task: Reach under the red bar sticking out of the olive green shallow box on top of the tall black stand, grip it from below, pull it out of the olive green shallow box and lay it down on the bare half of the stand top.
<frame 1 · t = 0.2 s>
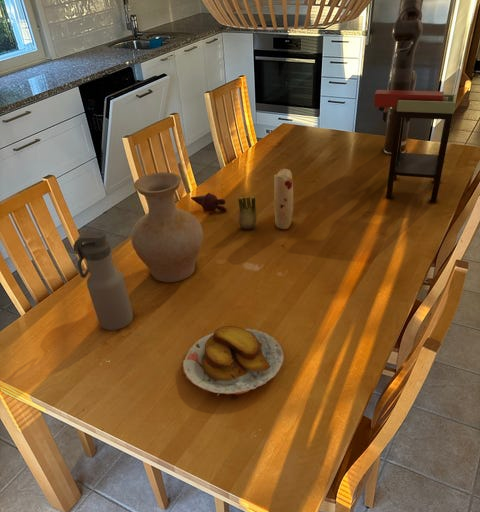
hand: (395, 121, 206), 17 cm above the table, tool pointing down, fingers open, 8 cm apart
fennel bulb: (247, 228, 182), on the table
red bar: (407, 106, 174), point 32 cm above the table, touching olive green shallow box
food on plate: (234, 365, 129), on the table
olive green shallow box: (425, 108, 173), resting on stand
water bottle: (116, 320, 146), on the table
icecream: (209, 210, 195), on the table
vase: (173, 270, 164), on the table
food model: (284, 225, 182), on the table
stand: (412, 189, 197), on the table
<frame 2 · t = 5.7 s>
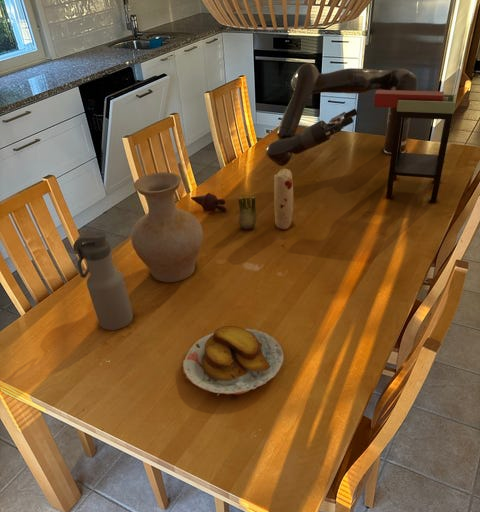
hand: (354, 115, 182), 29 cm above the table, tool pointing upward, fingers open, 8 cm apart
nothing on the table moved.
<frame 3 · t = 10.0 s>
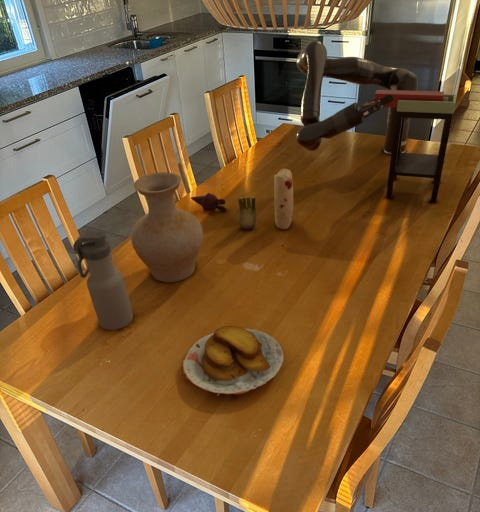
hand: (393, 94, 174), 36 cm above the table, tool pointing upward, fingers closed on red bar, 4 cm apart
red bar: (407, 106, 174), point 33 cm above the table, touching olive green shallow box, gripper
everything else where it was.
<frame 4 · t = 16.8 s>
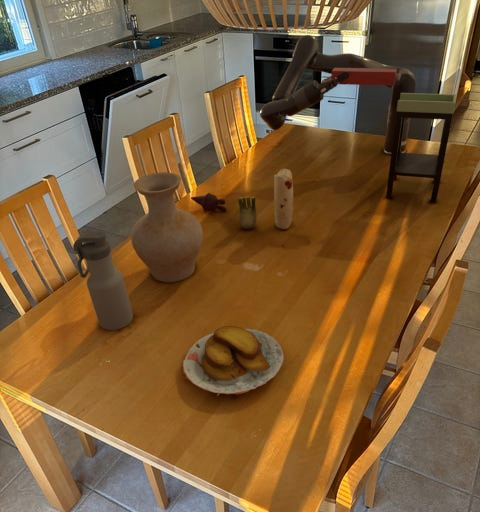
hand: (349, 72, 182), 41 cm above the table, tool pointing upward, fingers closed on red bar, 4 cm apart
red bar: (362, 83, 182), point 37 cm above the table, touching gripper
everything else where it was.
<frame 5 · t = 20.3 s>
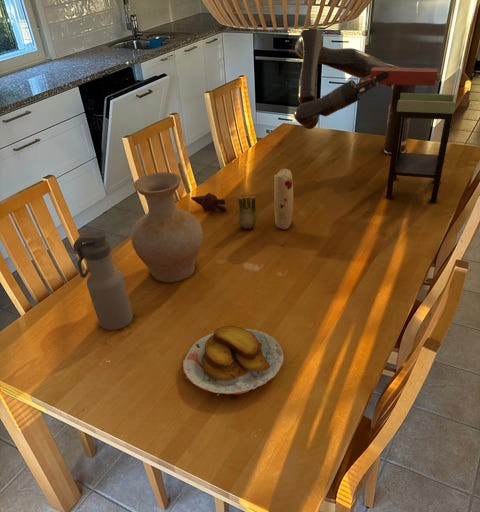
hand: (388, 71, 178), 41 cm above the table, tool pointing upward, fingers closed on red bar, 4 cm apart
red bar: (402, 83, 179), point 37 cm above the table, touching gripper
everything else where it was.
when the fingers open (36 cm above the table, at t = 23.4 s): red bar stays where it is, resting on stand.
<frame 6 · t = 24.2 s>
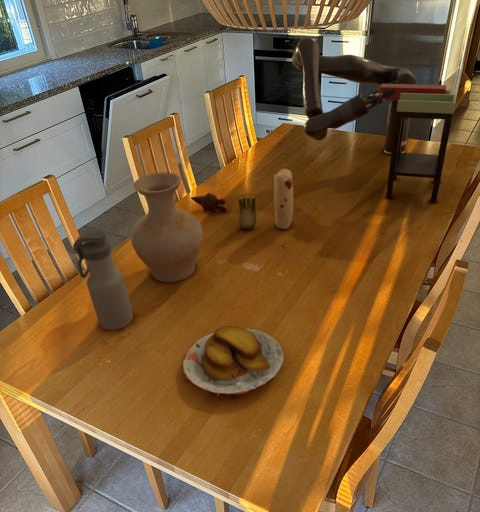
hand: (395, 86, 181), 36 cm above the table, tool pointing upward, fingers open, 8 cm apart
red bar: (411, 99, 181), point 32 cm above the table, touching stand
everything else where it was.
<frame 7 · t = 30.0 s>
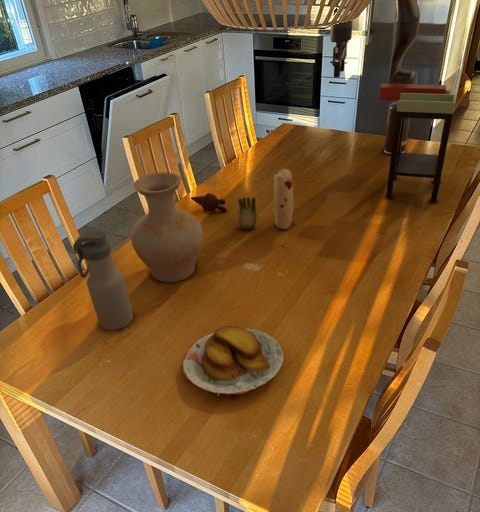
hand: (339, 74, 191), 38 cm above the table, tool pointing down, fingers open, 8 cm apart
nothing on the table moved.
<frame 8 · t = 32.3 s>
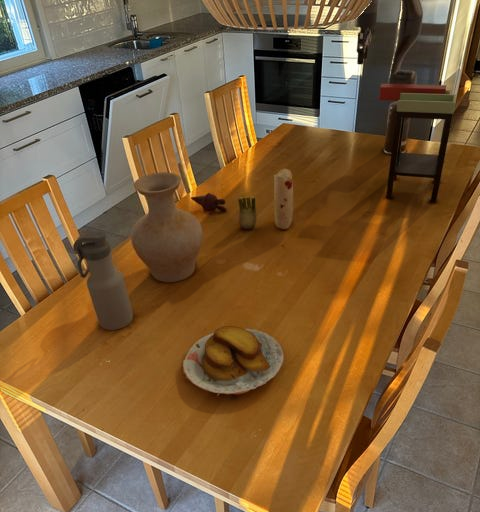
hand: (362, 61, 187), 42 cm above the table, tool pointing down, fingers open, 8 cm apart
nothing on the table moved.
at the end: red bar 0.5 cm from the target spot, point 32.0 cm above the table; the gripper is holding nothing; red bar tilted 0° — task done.
